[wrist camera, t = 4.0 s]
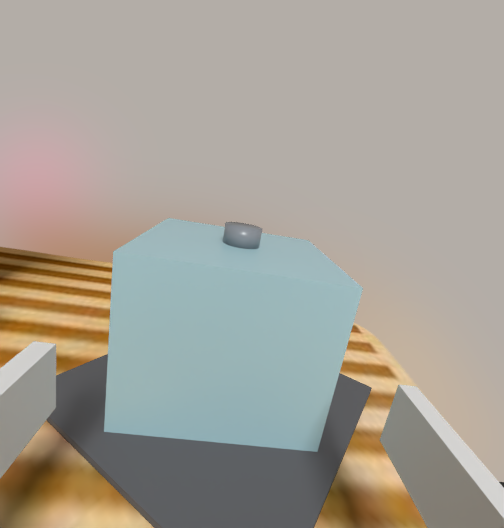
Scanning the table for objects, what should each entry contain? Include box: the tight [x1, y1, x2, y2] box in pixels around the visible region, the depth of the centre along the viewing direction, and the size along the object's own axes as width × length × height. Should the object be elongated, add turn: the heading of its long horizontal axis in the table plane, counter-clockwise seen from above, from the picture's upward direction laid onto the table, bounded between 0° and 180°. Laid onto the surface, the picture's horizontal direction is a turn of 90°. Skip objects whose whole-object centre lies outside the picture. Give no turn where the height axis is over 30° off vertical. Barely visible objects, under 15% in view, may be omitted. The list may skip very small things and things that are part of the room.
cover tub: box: [104, 218, 363, 452], centre depth 21 cm, size 12×12×11 cm
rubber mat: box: [47, 354, 371, 528], centre depth 21 cm, size 17×17×1 cm
